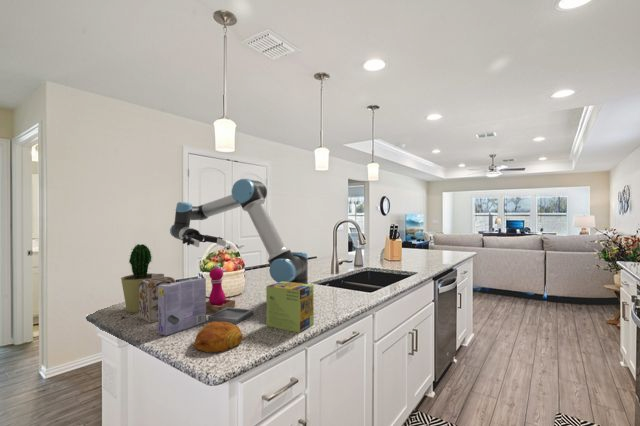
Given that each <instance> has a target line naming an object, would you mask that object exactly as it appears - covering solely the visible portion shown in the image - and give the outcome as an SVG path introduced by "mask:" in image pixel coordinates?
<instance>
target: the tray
mask: <svg viewBox="0 0 640 426" xmlns="http://www.w3.org/2000/svg"><path fill="white" fill-rule="evenodd" d="M253 315H254V310H253V309H248V308H236V307H233V308H229V307H227V308H224V309H222V310H220V311H218V312H216V313H211V314H210V315H207V321H208V322H209V323H211V322H229V323H231V324H233V325H238V324H240V323H241V322H243V321H245V320H247V319H248V318H249V317H252V316H253Z"/></svg>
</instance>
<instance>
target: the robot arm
mask: <svg viewBox="0 0 640 426" xmlns="http://www.w3.org/2000/svg"><path fill="white" fill-rule="evenodd" d="M267 195H268V189H267V187H266V185H265V184H264V183H263V182H261V181H259V180H254V179H253V180H252V179H250V178H240V179H238V180H236V181H235V182H234V183H233V185H232V188H231V194H229V195H227V196H224V197H221V198H218V199H215V200H213V201H209V202H206V203H203V204H201V205H197V206H193V203H191V202H185V201H178V202H177V203H176V207H175V216H174V223H173V225H171V227H170V229H169V233H170V235H171V236H172V237H173V238H174V239H177V240H180V241H182V244H186V245H187V246H190V245H191V246H194V247H197V248H199V247H200V243H212V244H216V245H219V246H222V247H226V243H227V240H224V239H223V238H222V237H221V236H219V237H217V236H212V235H210V234H209V235H208V234H201V232H200V231H199V230H197V229H195V228H192V227H190V224H191V221H204V220H208V218H210V217H212V216H215V215H218V214H221V213H224V212H228V211H231V210H234V209H237V208H242V210H243V211H244V212H246V213H248V215H249V217H250V220H251V221H252V223H253V226H254V229H255V230H256V231H257V234H258V237H259V239H260V240H261V242H262V244H263V246H264V249H265V250H266V252H267V254H268V258H267V262H268V264H269V275H270V277H271V279H272V280H273V281H275V282H276V283H279V282H282V281H283V282H292V283H302V284H309V280H308V275H309V272H308V271H309V270H308V269H309V267H308V264H309V263H308V262H309V258H308V253H307V252H298V251H291V249H290V248H286V246H285V244H284V242H283V240H282V238H281V235H280V234H279V231H278V230H277V228H276V226H275V224H274V222H273V220H272V218H271V215H270V214H269V211H268V210H267V208H266V206H265V202H266V198H267Z"/></svg>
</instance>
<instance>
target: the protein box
mask: <svg viewBox="0 0 640 426" xmlns="http://www.w3.org/2000/svg"><path fill="white" fill-rule="evenodd" d="M265 293H266V299H265V300H266V309H265V310H266V313H265V314H266V327H269V328H274V329H280V330H284V331H290V332H295V333H299V334H300V333H302V332H303V331H305V330H307V329H308V328H310V327H311V326H314V324H315V323H314V320H315V319H314V318H315V317H314V316H315V315H314V312H315V311H314V308H315V307H314V306H315V305H314V284H310V283H308V284H302V283H292V282H283V281H282V282H279V283H278V282H276V283H272V284H269V285H266V292H265Z"/></svg>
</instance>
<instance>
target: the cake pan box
mask: <svg viewBox="0 0 640 426" xmlns="http://www.w3.org/2000/svg"><path fill="white" fill-rule="evenodd" d="M206 285H207V280H206V277H197V278H193V279H187V280H181V281H175V283H170V284H165V285H159V286H158V321H157V326H158V327H157V331H158V334H159V335H161V336H162V335H163V336H164V337H167V336H170V335H173V334H175V333H178V332H181V331H184V330H188V329H191V328H193V327H196V326H198V325H201V324H205V323H207V312H206V302H207V294H206V293H207V290H206V289H207V286H206Z"/></svg>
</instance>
